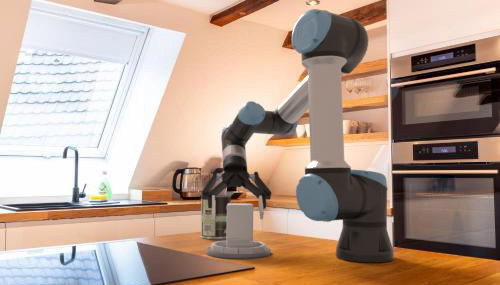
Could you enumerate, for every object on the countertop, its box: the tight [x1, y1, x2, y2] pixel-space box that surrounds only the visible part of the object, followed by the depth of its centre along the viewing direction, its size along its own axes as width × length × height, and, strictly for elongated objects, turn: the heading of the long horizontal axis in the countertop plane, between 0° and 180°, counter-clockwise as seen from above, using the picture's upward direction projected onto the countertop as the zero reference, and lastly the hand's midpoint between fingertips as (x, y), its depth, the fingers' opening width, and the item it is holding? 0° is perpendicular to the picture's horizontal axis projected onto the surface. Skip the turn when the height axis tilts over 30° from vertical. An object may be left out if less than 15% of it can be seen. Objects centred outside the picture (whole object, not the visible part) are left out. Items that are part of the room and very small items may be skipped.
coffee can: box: [200, 194, 232, 240], centre depth 168 cm, size 10×10×14 cm
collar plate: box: [205, 239, 272, 260], centre depth 137 cm, size 18×18×2 cm
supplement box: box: [226, 202, 254, 248], centre depth 137 cm, size 7×7×13 cm
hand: (237, 216), depth 138 cm, fingers open, 13 cm apart
